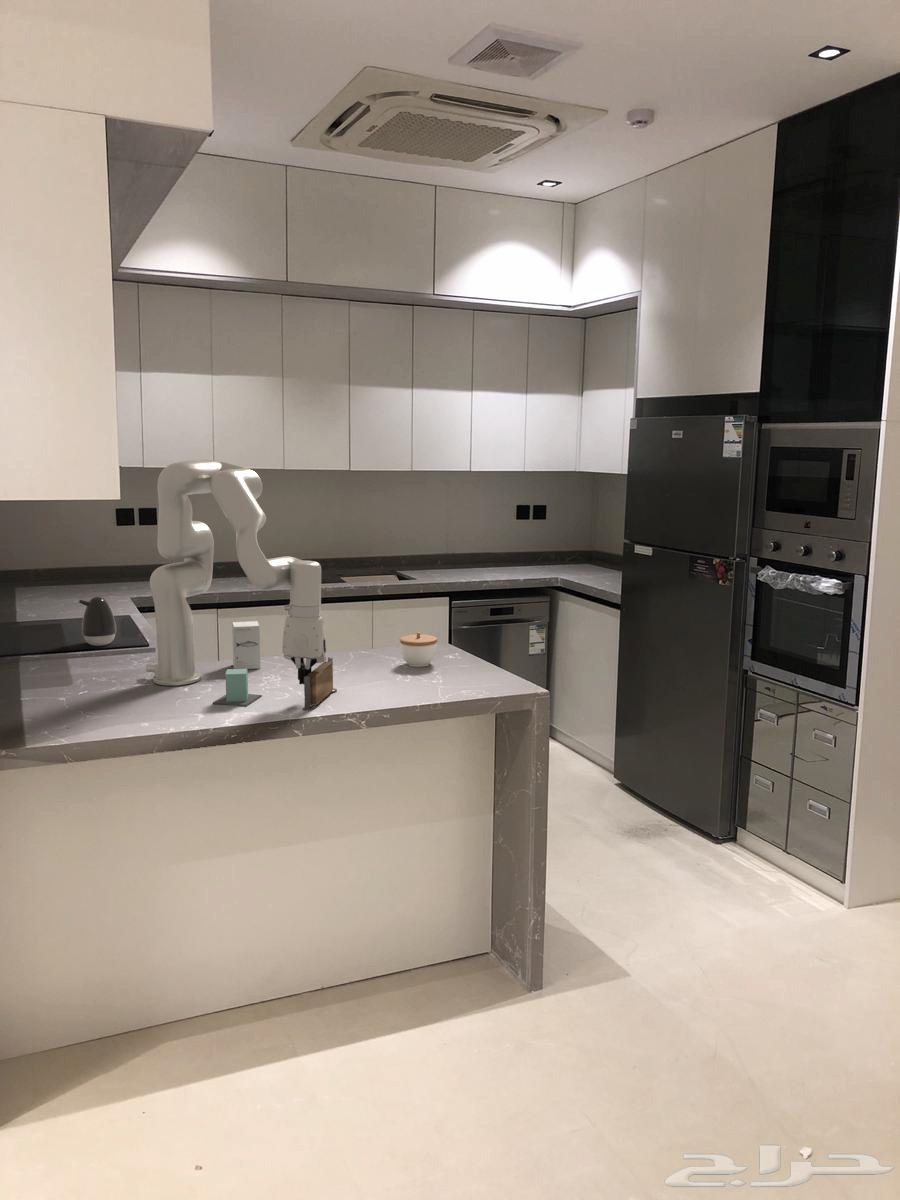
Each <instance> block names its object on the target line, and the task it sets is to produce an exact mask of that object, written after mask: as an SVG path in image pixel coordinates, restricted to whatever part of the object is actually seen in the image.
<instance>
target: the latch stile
mask: <svg viewBox="0 0 900 1200" xmlns="http://www.w3.org/2000/svg"><path fill="white" fill-rule="evenodd" d="M303 690H304V694H303V695H304V707H302V711H312V710H313V709H315V705H312V676H306V677H304V685H303Z"/></svg>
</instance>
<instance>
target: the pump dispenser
mask: <svg viewBox="0 0 900 1200" xmlns="http://www.w3.org/2000/svg"><path fill="white" fill-rule="evenodd" d="M78 603H79V604H81V605H83V606H86V607H85V609H84V613H83V616H82V617H83V618H82V624H81V635H82V636H83V638H84V641H85V642H86V643H88V645H91V646H94V647H102V646H108V645H109V644H111V643H112V642H113V641H114V639H115V638H116V637H115V636H116V634H117V624H116V620H115V616H114V613H113V611H112V609H111V606H110V605H109V603H108V601H107V600H106V599H105V597H104V598H103V597H101V596H94V597H92V598H90V599H89V601H87V600H83V599H80V600H79V602H78Z"/></svg>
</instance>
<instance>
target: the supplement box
mask: <svg viewBox="0 0 900 1200" xmlns="http://www.w3.org/2000/svg"><path fill="white" fill-rule="evenodd" d="M231 637H232V638H231V639H232V640H231V641H232V663H233V669H247V670H260V669H261V647H260V645H261V644H260V643H261V642H260V640H261V638H260V624H259V621H258V620H255V621H234V622H231Z"/></svg>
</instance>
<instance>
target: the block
mask: <svg viewBox="0 0 900 1200" xmlns="http://www.w3.org/2000/svg"><path fill="white" fill-rule="evenodd" d="M224 676H225V695H226V702H235V701H247V699H248V694H249V681H248V680H249V679H248V669H234V668H233V669H232V668H231V669H226V671H225V675H224Z"/></svg>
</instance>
